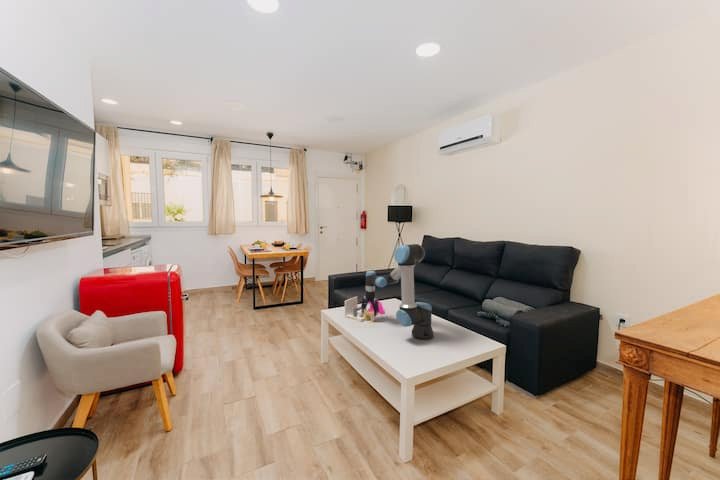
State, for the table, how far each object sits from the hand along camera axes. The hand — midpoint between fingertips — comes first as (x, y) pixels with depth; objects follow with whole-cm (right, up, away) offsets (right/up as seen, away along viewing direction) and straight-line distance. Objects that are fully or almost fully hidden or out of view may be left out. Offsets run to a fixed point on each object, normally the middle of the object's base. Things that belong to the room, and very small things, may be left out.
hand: (369, 318), depth 232 cm
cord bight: (0, -2, 0) cm, 2 cm away
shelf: (-8, -1, +9) cm, 12 cm away
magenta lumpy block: (+6, -1, +20) cm, 21 cm away
